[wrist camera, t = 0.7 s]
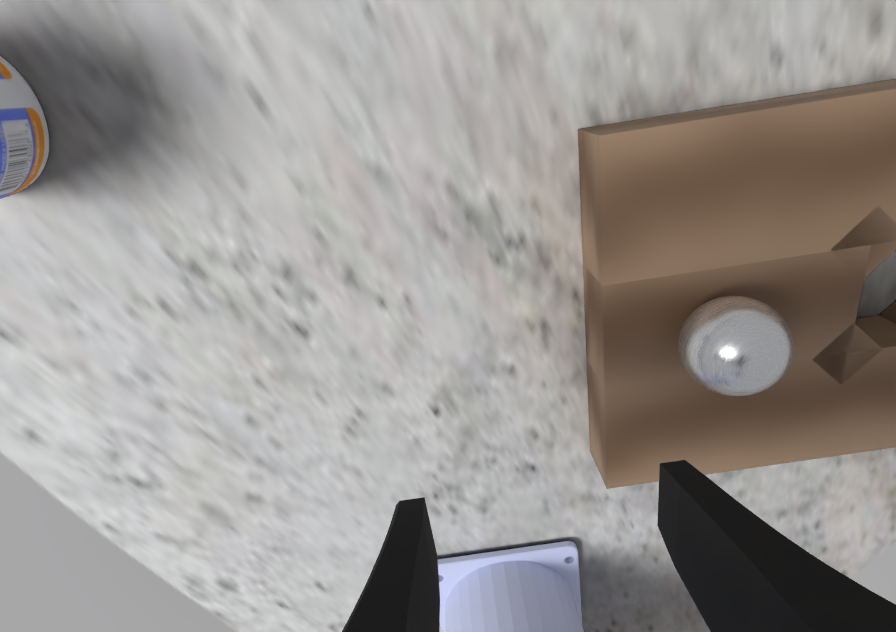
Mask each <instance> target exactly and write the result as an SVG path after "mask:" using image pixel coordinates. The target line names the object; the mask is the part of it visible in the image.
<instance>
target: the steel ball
mask: <svg viewBox="0 0 896 632" xmlns="http://www.w3.org/2000/svg"><path fill="white" fill-rule="evenodd" d="M678 345H679V354H680V358H681V361H682V363H683V365H684V367H685V369H686V370H687V372H688V373H689V374H690V376H691V377H692V378H693V379H694V380H695V381H697V382H698V383H699V384H700V385H702V386H704V387H705V388H707V389H709V390H711V391H713V392H716V393H719V394H723V395H728V396H747V395H752V394H756V393H759V392H761V391H764V390H766V389H768V388H769V387H771V386H773V385H774V384H775V383H776V382H778V381H779V380H780V379H781V378H782V376H783V375H784V374H785V372H786V371H787V369H788V367H789V365H790V362H791V360H792V355H793V340H792V336H791V332H790V330H789V328H788V326H787V324H786V322H785V321H784V319H783V318H782V317H781V316H780V315H779V314H778V313H777V312H776V311H775V310H774V309H773V308H771V307H770V306H768V305H767V304H765V303H763V302H761V301H759V300H756V299H752V298H749V297H744V296H725V297H720V298H716V299H713V300H710V301H708V302H706V303H704V304H702V305H701V306H699V307H698V308H696V309H695V310H694V311H693V312H692V313H691V314H690V315H689V316H688V318H687V319H686V321H685V322H684V324H683V326H682V329H681V331H680V335H679V343H678Z"/></svg>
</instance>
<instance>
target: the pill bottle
mask: <svg viewBox="0 0 896 632" xmlns="http://www.w3.org/2000/svg"><path fill="white" fill-rule="evenodd" d="M48 153H49V133H48V127H47V123H46V119H45V116H44V113H43V111H42V108H41V106H40V104H39V102H38V100H37V98H36V96H35V94H34V93H33V91H32V89H31V88H30V87H29V85H28V84H27V82H26V81H25V80H24V78H23V77H22V76H21V75H20V74H19V73H18V72H17V70H16V69H15V68H14V67H13V66H12V65H10V64H9V63H8V62H7V61H6V60H5V59H3V58H2V57H1V56H0V199H1V198H4V197H7V196H10V195H12V194H15V193H17V192H19V191H21V190H23V189H25V188H26V187H28V186H29V185H30V184H32V183H33V182H34V181H35V180H36V179H37V178H38V177H39V175H40V174H41V172H42V171H43V169H44V167H45V164H46V161H47V158H48Z"/></svg>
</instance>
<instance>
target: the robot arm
mask: <svg viewBox="0 0 896 632" xmlns="http://www.w3.org/2000/svg"><path fill="white" fill-rule="evenodd" d="M658 527H659V530H660V532H661V535H662V537H663V540H664V542H665V545H666V547H667V549H668V552H669V554H670V556H671V559H672V561H673V563H674V566H675V568H676V570H677V572H678V573H679V575H680V577H681V579H682V581H683V583H684V584H685V586H686V588H687V590H688V592H689V593H690V595H691V597H692V599H693V601H694V602H695V604H696V606H697V608H698V610H699V611H700V613H701V615H702V617H703V618H704V620H705V622H706V624H707V626H708V627H709V629H710V631H711V632H896V605H895V604H893V603H892V602H890V601H888V600H886V599H884V598H882V597H881V596H879V595H877V594H875V593H874V592H872V591H870V590H868V589H866V588H865V587H863V586H862V585H860V584H858V583H857V582H855V581H853V580H852V579H850V578H848V577H847V576H845V575H843V574H842V573H840V572H838V571H837V570H835V569H833V568H832V567H830V566H828V565H827V564H825V563H824V562H822V561H821V560H819V559H817V558H816V557H814V556H813V555H811V554H810V553H808V552H807V551H805V550H804V549H802V548H801V547H799V546H798V545H797V544H795V543H794V542H792V541H791V540H789V539H788V538H786V537H785V536H783V535H782V534H781V533H779V532H778V531H776V530H775V529H774V528H772V527H771V526H770V525H768V524H767V523H766V522H764V521H763V520H762V519H760V518H759V517H757V516H756V515H755V514H753V513H752V512H751V511H749V510H748V509H747V508H745V507H744V506H743V505H742V504H740V503H739V502H738V501H736V500H735V499H734V498H733V497H731V496H730V495H729V494H728V493H726V492H725V491H724V490H722V489H721V488H720V487H719V486H717V485H716V484H715V483H714V482H712V481H711V480H710V479H709V478H707V477H706V476H705V475H704V474H702V473H701V472H700V471H699V470H697V469H696V468H695V467H694V466H692V465H691V464H690V463H689V462H687V461H686V460H680V461H673V462H666V463H660V471H659V502H658ZM439 622H440V626H441V630H442V632H584V629H583V626H582V612H581V595H580V577H579V559H578V550H577V547H576V544H575V543H574V542H571V541H564V542H557V543H550V544H543V545H536V546H529V547H522V548H515V549H508V550H501V551H494V552H487V553H480V554H473V555H466V556H459V557H452V558H445V559H437V553H436V548H435V544H434V539H433V535H432V530H431V526H430V521H429V516H428V512H427V507H426V503H425V498H417V499H410V500H403V501H399V503H398V504H397V505H396V508H395V511H394V515H393V518H392V521H391V524H390V527H389V530H388V533H387V535H386V538H385V541H384V543H383V546H382V548H381V551H380V553H379V556H378V558H377V560H376V563H375V565H374V567H373V570H372V572H371V574H370V577H369V579H368V581H367V583H366V585H365V587H364V590H363V592H362V594H361V596H360V598H359V600H358V602H357V604H356V606H355V608H354V610H353V612H352V614H351V616H350V618H349V620H348V621H347V623H346V625H345V627H344V629H343V631H342V632H439Z"/></svg>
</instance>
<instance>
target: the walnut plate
mask: <svg viewBox="0 0 896 632" xmlns="http://www.w3.org/2000/svg"><path fill="white" fill-rule="evenodd" d="M578 145H579V171H580V197H581V223H582V249H583V275H584V301H585V327H586V352H587V378H588V404H589V430H590V452H591V454H592V457H593V459H594V461H595V463H596V465H597V468H598V470H599V472H600V474H601V477H602V479H603V481H604V483H605V485H606V488H607V489H608V488H615V487H622V486H629V485H636V484H643V483H650V482H657V481H659V471H660V463H666V462H673V461H680V460H686V461H687V462H689V463H690V464H691V465H692V466H694V467H695V468H696V469H697V470H699V471H700V472H701V473H702V474H704V475H706V474H713V473H720V472H726V471H733V470H740V469H747V468H754V467H761V466H768V465H775V464H782V463H789V462H796V461H803V460H810V459H817V458H824V457H831V456H838V455H844V454H851V453H858V452H865V451H872V450H879V449H886V448H893V447H896V301H895V302H894V303H892V304H891V305H890V306H889V307H888V308H887V309H885V310H884V311H883V312H882V313H881V314H880V315H877V316H871V317H864V318H857V319H856V316H857V311H858V306H859V301H860V297H861V292H862V287H863V282H864V278H866V277H867V276H868V275H869V274H870V273H871V272H872V271H873V270H874V269H875V268H877V267H878V266H879V265H880V264H881V263H882V262H883V261H884V260H885V259H887V258H888V257H889V256H890V255H891V254H892V253H893V252H894V251H895V250H896V79H892V80H885V81H879V82H873V83H866V84H860V85H854V86H848V87H841V88H835V89H829V90H822V91H816V92H810V93H803V94H797V95H791V96H785V97H778V98H772V99H766V100H759V101H753V102H747V103H740V104H734V105H728V106H722V107H715V108H709V109H703V110H696V111H690V112H684V113H677V114H671V115H665V116H659V117H652V118H646V119H640V120H633V121H627V122H621V123H614V124H608V125H602V126H596V127H589V128H583V129H578ZM725 296H744V297H749V298H752V299H756V300H759V301H761V302H763V303H765V304H767V305H768V306H770V307H771V308H773V309H774V310H775V311H776V312H777V313H778V314H779V315H780V316H781V317H782V318H783V319H784V321H785V322H786V324H787V326H788V328H789V330H790V332H791V336H792V340H793V355H792V360H791V362H790V365H789V367H788V369H787V371H786V372H785V374H784V375H783V376H782V378H781V379H780V380H779V381H778V382H776V383H775V384H774V385H773V386H771V387H769V388H768V389H766V390H764V391H761V392H759V393H756V394H752V395H747V396H728V395H723V394H719V393H716V392H713V391H711V390H709V389H707V388H705V387H704V386H702V385H700V384H699V383H698V382H697V381H695V380H694V379H693V378H692V377H691V376H690V374H689V373H688V372H687V370H686V369H685V367H684V365H683V363H682V361H681V358H680V354H679V345H678V343H679V335H680V331H681V329H682V326H683V324H684V322H685V321H686V319H687V318H688V316H689V315H690V314H691V313H692V312H693V311H694V310H695V309H696V308H698V307H699V306H701V305H702V304H704V303H706V302H708V301H710V300H713V299H716V298H720V297H725Z"/></svg>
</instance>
